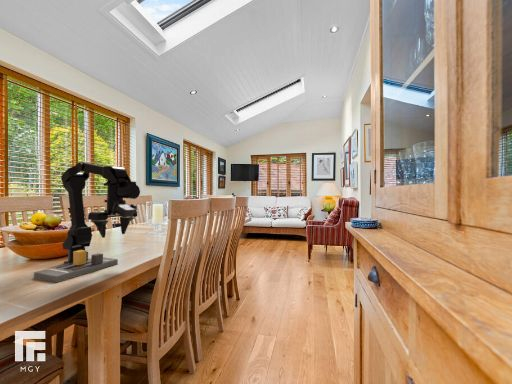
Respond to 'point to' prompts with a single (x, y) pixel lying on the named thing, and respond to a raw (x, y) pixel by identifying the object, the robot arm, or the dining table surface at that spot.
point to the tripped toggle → (79, 257)
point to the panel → (75, 268)
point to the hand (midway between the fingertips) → (113, 235)
